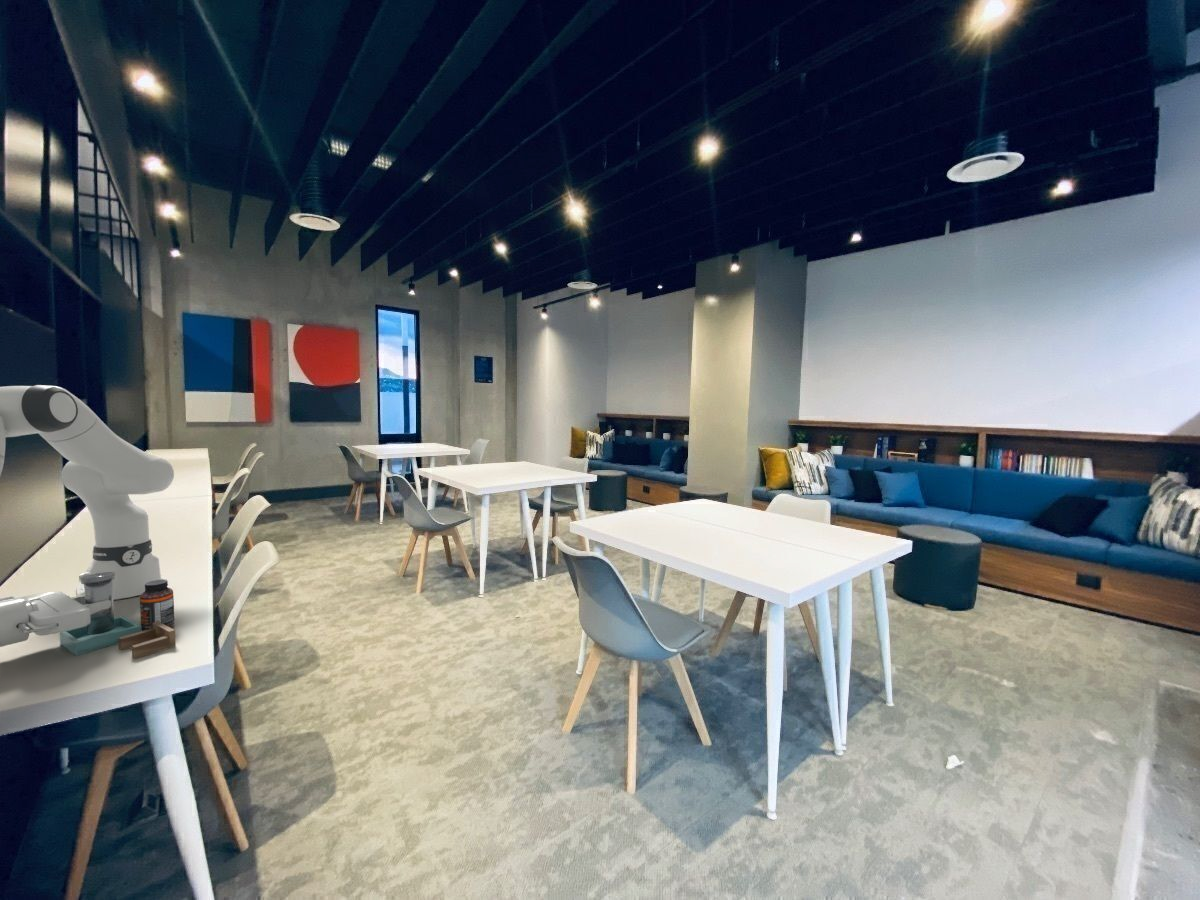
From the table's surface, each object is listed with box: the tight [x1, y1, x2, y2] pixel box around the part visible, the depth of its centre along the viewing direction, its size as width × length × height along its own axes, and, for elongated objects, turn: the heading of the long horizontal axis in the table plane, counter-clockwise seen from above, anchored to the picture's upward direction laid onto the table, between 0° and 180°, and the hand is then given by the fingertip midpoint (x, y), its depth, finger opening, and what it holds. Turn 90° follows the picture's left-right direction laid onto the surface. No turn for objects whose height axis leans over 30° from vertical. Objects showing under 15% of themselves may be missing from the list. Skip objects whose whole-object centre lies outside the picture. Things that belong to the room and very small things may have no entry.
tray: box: [59, 615, 142, 656], centre depth 112 cm, size 11×11×3 cm
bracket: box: [118, 621, 176, 660], centre depth 108 cm, size 9×7×4 cm
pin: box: [80, 572, 115, 635], centre depth 111 cm, size 5×5×12 cm
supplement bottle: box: [139, 579, 175, 631], centre depth 118 cm, size 6×6×11 cm
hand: (105, 600), depth 112 cm, fingers open, 4 cm apart
